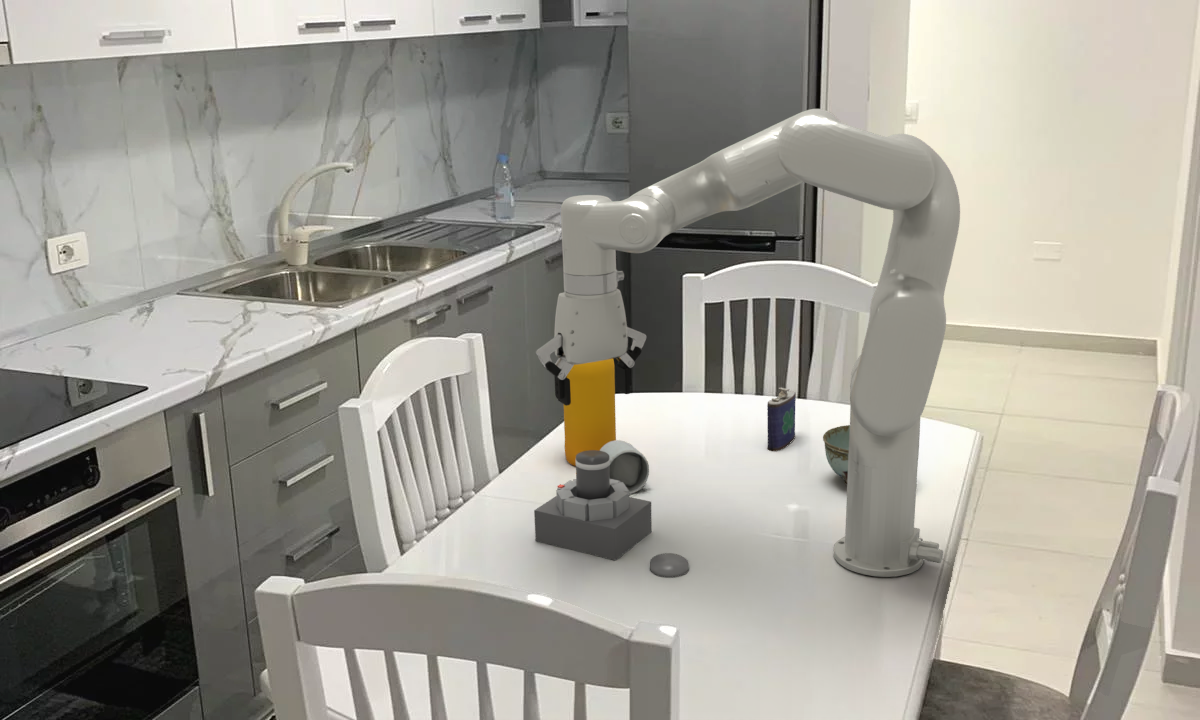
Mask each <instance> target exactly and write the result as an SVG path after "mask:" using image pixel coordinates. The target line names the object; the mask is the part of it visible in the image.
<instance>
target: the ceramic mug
mask: <svg viewBox="0 0 1200 720" xmlns="http://www.w3.org/2000/svg"><path fill="white" fill-rule="evenodd" d="M599 451H603V452H606V453H608V454H609V458H610V465H609V467H610V479H614V480H618V481H620V482H623V483H624V484H625V486H626V487H627V489H628V490H629V495H632V494H635V493H637V492H638V491H640V490H642V488H643V487H644V486H645V485H646V484H647V481H648V479H649V475H650V465H649V462H648V460H647V458H646V456H645V455H644V454H643V453H642V452H640V451H639V450H638V449H637V448H635V446H634V445H633V444H630V442H627V441H624V440H620V439H619V440H618V439H616V440H615V441H610V442H608V443H606V444H605V445H604V446H603V447H602V448H601V449H600V450H599Z"/></svg>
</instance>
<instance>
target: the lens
mask: <svg viewBox="0 0 1200 720" xmlns="http://www.w3.org/2000/svg"><path fill="white" fill-rule="evenodd" d="M609 465H610V458H609V454H608V453H606V452H603V451H598V450H589V451H583V452H580V453H578V454H577V455H576V466H575V479H576V492H577V497H578V498H583V499H588V500H592V499H600V498H607V497H608V496H610V467H609Z"/></svg>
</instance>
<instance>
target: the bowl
mask: <svg viewBox="0 0 1200 720" xmlns="http://www.w3.org/2000/svg"><path fill="white" fill-rule="evenodd" d="M849 432H850V424H848V425H839V426H837V427H833V428H830V429H828V430H827V431H825V433H824V434H823V436H822V441H823V442H824V451H825V452H824V453H825V457H826V459H827V463H828V464H829V466H830V468H831V469H832V471H833V472H834V473H835V474H836V475H837V476H838V477H840V478H841V479H843V481H844V484H845V485H846V486H847V479H848V454H849Z"/></svg>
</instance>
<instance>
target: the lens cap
mask: <svg viewBox="0 0 1200 720" xmlns="http://www.w3.org/2000/svg"><path fill="white" fill-rule="evenodd" d="M689 566H690V563H689V560H688V559H687V558H686V557H684V556H683V555H680V554H677V553H672V552H664V553H659V554H656V555H655V556H653V557H651V558H650V560H649V572H650V573H651V574H653V575H655V576H657V577H660V578H670V579H671V578H673V579H674V578H678V577H682V576H684V575H686V574H687V573H688V572H689V571H690V567H689Z"/></svg>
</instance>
